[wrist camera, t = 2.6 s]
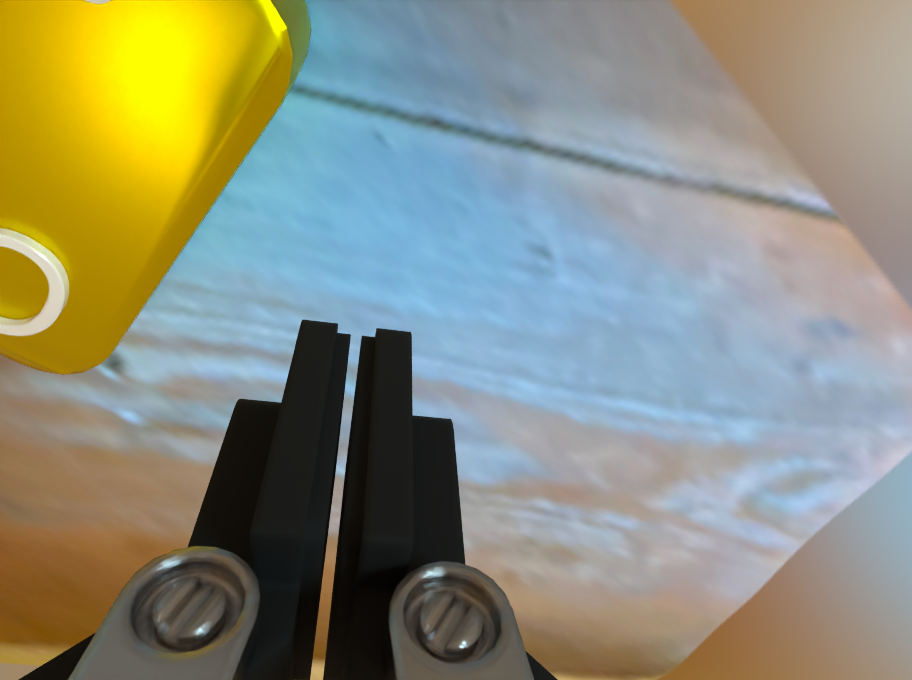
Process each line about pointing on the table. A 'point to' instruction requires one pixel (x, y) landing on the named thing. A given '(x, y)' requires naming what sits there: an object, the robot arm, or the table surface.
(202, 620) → the robot arm
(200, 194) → the element tile
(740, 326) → the table surface
